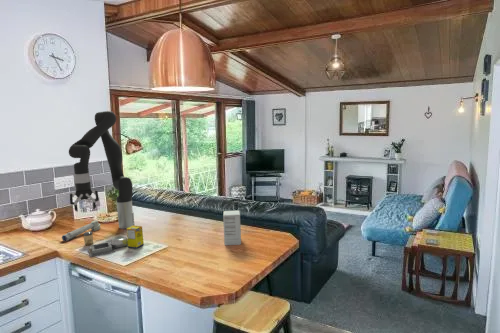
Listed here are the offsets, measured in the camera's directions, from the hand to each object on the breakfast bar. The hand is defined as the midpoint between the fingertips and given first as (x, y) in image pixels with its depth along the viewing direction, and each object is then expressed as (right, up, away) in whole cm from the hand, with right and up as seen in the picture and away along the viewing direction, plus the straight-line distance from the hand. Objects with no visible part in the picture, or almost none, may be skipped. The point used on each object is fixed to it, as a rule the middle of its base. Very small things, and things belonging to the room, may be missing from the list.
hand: (85, 210), depth 186 cm
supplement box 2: (+82, -18, 0) cm, 84 cm away
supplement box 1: (+29, -20, -2) cm, 35 cm away
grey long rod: (-12, -18, +21) cm, 30 cm away
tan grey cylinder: (+1, -20, +3) cm, 20 cm away
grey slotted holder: (+15, -21, -5) cm, 26 cm away
